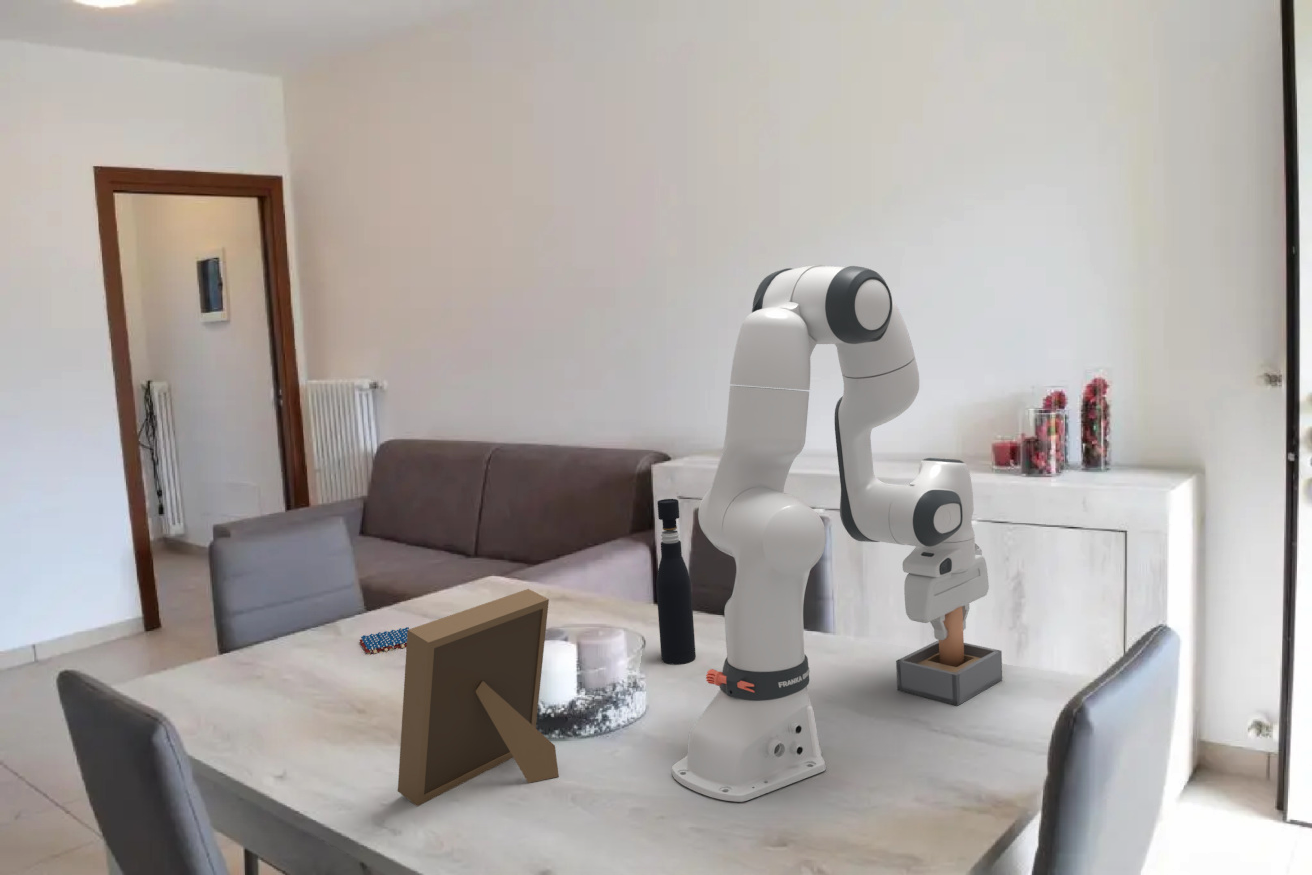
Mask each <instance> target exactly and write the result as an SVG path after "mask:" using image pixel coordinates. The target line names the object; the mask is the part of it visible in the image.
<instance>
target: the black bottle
mask: <svg viewBox="0 0 1312 875" xmlns="http://www.w3.org/2000/svg"><path fill="white" fill-rule="evenodd" d="M656 505H657V514H658V515H657V516H658V520H660V521H661V522H662V530H663V531H661V542H660V554H661V558H660V560H659V565H658V569H657V575H656V582H655V585H656V599H657V600H656V601H657V615H658V629H659V630H658V631H659V643H660V644H659V645H660V656H661V661H662V662H663V663H666V664H667V665H669V664H670V665H685V664H689V663H691V662H693V661H694V660H695V659H696V656H697V654H696V641H695V639H696V638H695V628H694V627H695V625H694V624H695V622H694V611H693V610H694V609H693V599H692V598H693V597H692V595H693V594H692V584H691V583H692V581H691V577H690V573H689V570H688V567H687V565H686V562H685V560H684V558H683V555H682V554H683V552H682V542H681V540H680V533H679V530H677V529H678V527H677V520H678V519H679V518H680V503H679V499H677V498H665V499H660V500H657V504H656Z"/></svg>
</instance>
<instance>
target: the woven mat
mask: <svg viewBox="0 0 1312 875" xmlns="http://www.w3.org/2000/svg"><path fill="white" fill-rule="evenodd" d="M409 629H410V627H409V626H408V627H405V628H404V627H402V628H397V629H396V630H395V629H391V630H388V631H387V630H385V631H384V632H383V631H381V632H380V631H379V632H377V633H375V634H374V633H370V634H366V635H365V634H364V635H362V636H360V638H361V639H359V645H360V646H361V647H362V648H363V651H364V652H365V653H366V654H367V655H368V656H371V655H372V654H374V655H375V654H378V653H380V654H383V651H384V652H388V651H394V649H396V650H399V649H405V648H407V632H408V630H409Z"/></svg>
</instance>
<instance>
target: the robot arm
mask: <svg viewBox="0 0 1312 875" xmlns="http://www.w3.org/2000/svg"><path fill="white" fill-rule="evenodd" d="M907 328H908V327H907V325H906V323H905V321H904V318H903V316H902V313H901V311H900V309H899V307H898V304H897V303H896V301H895V300H894V299H893V297H892V293H891V290H890V288H889V286H888V283H887V282H886V280H885V279H884V278H883V276H882V275H880V273H878V272H877V271H875V270H872V269H871V268H867V267H864V266H863V267H862V266H857V265H850V266H845V267H844V266H836V265H835V266H832V265H831V266H829V265H822V264H817V265H816V264H815V265H808V266H802V267H795V268H790V267H789V268H783V269H780V270H777V271H775V272H772V273H770V274H769V275H767V276H765V277H764V278H763V280H761V282H760V284H759V285H758V286H757V289H756V292H755V293H754V298H753V302H752V309H751V313H749V314H747V316H746V317H745V318H744V319H743V321H742V323H741V326H740V329H739V333H738V336H737V340H736V345H735V350H734V352H733V353H734V355H733V359H732V366H731V372H730V373H731V374H730V382H729V384H730V385H729V392H728V393H729V394H728V406H727V417H726V427H725V430H726V431H725V437H724V442H723V447H722V451H721V455H720V458H719V461H718V465H717V468H716V471H715V474H714V478H713V481H712V484H711V487H709V488H710V489H709V490H708V491H707V492H706V493H705V494H704V495H703V497H702V499H701V501H700V504H699V507H698V510H697V514H698V515H697V517H698V523H699V527H700V529H701V531H702V532H703V535H705V537H706V538H707V539H708V540H709V541H710V543H711V544H712V545H713V546H714V548H716V549H718V550H719V551H721V552H723V553H724V554H726V555H728V556H731V557H733V559H734V561H735V562H734V563H735V566H736V567H735V568H736V571H735V572H736V573H735V579H734V583H733V584H734V585H733V590H732V593H731V594H732V595H731V596H730V598H729V599H728V600H727V601H726V603H725V605H724V609H723V610H724V611H723V612H724V614H723V615H724V629H725V641H726V642H725V643H726V646H725V647H726V658H725V659H724V663H723V667H722V671H717V670H716V669H713V668H710V669H709V670H707V673H706V675H705V676H706V677H705V679H706V682H707V683H708V684H709V685H710V684H711V685H715V686H718V687H719V690H718V692H717V693H716V694H715V696H714V697H713V699H711V702H710V703H709V704H708V705H707V707H706V709H705V710H704V711H703V712H702V714H701V715H700V716H699V717H698V719H697V721H696V722H695V723H694V724H693V725H692V727H691V728H690V731H689V735H688V739H687V754H686V755H685V756H684V757H682V759H680V760H678V761H677V762H675V763H674V764H673V765H672V766H671V775H672V777H673V779H675V780H676V781H677V782H678V783H679V784H681V785H682V786H684V787H686V788H688V789H689V790H691V791H694V792H696V793H698V794H702V795H704V796H707V797H709V798H712V799H717V800H721V801H728V802H739V803H743V802H746V801H750V800H752V799H756V798H758V797H760V796H762V795H765V794H767V793H771V792H774V791H776V790H778V789H781V788H784V787H786V786H789V785H791V784H794V783H796V782H799V781H803V780H804V779H806V778H810V777H813V776H815V775H817V774H820V773H822V772H824V771H825V770H827V769H826V768H827V767H826V761H825V759H824V757H823V756H822V748H821V745H820V743H819V738H818V737H819V736H818V731H817V724H816V718H815V712H814V708H813V705H812V700H811V699H810V695H809V690H808V689H809V688H808V686H809V683H810V667H809V658H808V655H806V654H805V634H804V632H805V631H804V630H805V629H804V601H805V594H806V587H807V583H808V579H809V576H810V571H811V570H812V568H813V567H814V566H815V565H816V564H817V563H818V562H819V561H820V560H821V557H822V556H823V553H824V550H825V548H826V543H827V531H826V527H825V524H824V521H823V520H822V518H821V516H820V515H819V514H818V513H817V512H816V511H815V509H813V508H812V507H811V506H810V505H808V504H807V503H806V502H804V501H803V500H802V499H800V498H799V497H797V496H795V495H794V494H790V493H785V492H784V489H785V485H786V481H787V478H788V475H789V472H790V470H791V467H792V465H793V462H794V461H795V459H796V457H798V455H799V454H801V453H802V451H803V449H804V447H805V444H806V437H807V425H808V414H809V412H808V411H809V400H810V390H811V389H810V388H811V367H812V366H811V356H812V354H813V352H814V349H815V347H816V346H817V345H834V346H835V347H836V352H837V357H838V363H839V367H840V372H841V374H842V375H841V376H842V380H843V394H842V396H841V397H840V398H839V399H838V400H837V402H836V406H835V409H834V433H835V434H834V435H835V445H836V454H837V456H836V457H837V463H838V473H839V481H840V483H839V484H840V501H839V502H840V503H839V517H840V521H841V524H842V525H843V527H844V529H845V530H846V532H847V533H848V535H850V537H851V538H852V539H854V540H855V541H858V542H862V543H863V542H865V543H868V542H870V543H886V544H893V545H900V546H901V545H902V546H912V547H914V549H913V550H912V551H911V552H910V553H909V554H908V555H907V556H906V557H905V558H904V559H903V561H902V571H903V572H904V573H906V574H907V575H906V576H905V580H904V585H903V586H904V588H903V589H904V607H905V608H904V609H905V613H906V614H905V615H906V616H907V618H908V619H909V620H910V621H911V622H917V623H920V624H921V623H923V624H928V623H930V624H931V626H932V628H933V632H934V636H933V637H934V639H935V640H936V641H938V640H944V639H946V638H948V637H949V635H948V628H945V626H944V623H943V621H944V620H945V614H947V613H950V612H952V611H954V610H955V609H957V608H959V607H961V606H962V612H963V631H965V630H966V628H967V622H966V620H967V618H968V614H969V611H970V603H973V602H975V601H977V600H980V599H982V598H984V597H986V596H987V595H988V592H989V589H990V588H989V587H990V585H989V574H988V566H987V562H986V559H985V557H984V556H983V552H982V551H983V550H982V548H981V547H980V546H979V544H977V543H976V542H975V541H976V540H975V538H976V537H975V532H974V529H973V524H972V521H973V519H972V518H973V514H974V492H973V485H972V484H973V482H972V478H971V477H972V476H971V473H970V469H969V467H968V465H967V463H966V462H964V461H962V460H961V459H952V458H936V457H927V458H926V457H925V458H924V459H921V461H920V462H919V468H918V475H917V476H916V477H915V478H914V479H913V481H911V482H909V484H897V483H886V482H883V481H881V480H880V479H879V478H878V477H877V476H876V475H875V473H874V463H873V453H872V444H871V443H872V442H871V441H872V440H871V436H872V435H871V434H872V430H873V429H874V428H877V427H879V426H882V425H884V424H887V423H888V422H890V421H892V420H894V419H896V418H897V417H899V416H900V415H902V414H903V413H905V412H906V411H907V410H908V409H909V408H910V407H911V406H912V405H913V403H914V402H915V400H916V398H917V395H918V393H919V390H920V373H919V369H918V364H917V359H916V356H915V352H914V348H913V343H912V341H911V340H912V339H911V338H910V334H909V332H908V329H907Z"/></svg>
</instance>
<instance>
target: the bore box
mask: <svg viewBox="0 0 1312 875" xmlns="http://www.w3.org/2000/svg"><path fill="white" fill-rule="evenodd" d="M1002 652H1003V651H1002V650H1000V649H995V648H991V647H990V648H989V647H987V646H986V647H985V646H982V645H981V646H980V645H976V644H973V643H967V642H964V664H962V665H960V666H958V667H953V666H949V665H944V664H940V659H939V640H935V641H934V642H931V643H930V644H927V645H925V646H923V647H922V648H919V649H917V650H915V651H914V652H911V653H909V654H907V655H905V656H902V657H901V658H899V659H897V660H896V661H895V664H896V666H895V668H896V669H895V670H896V686H897V687H896V688H897V691H899V692H902V693H907V694H911V695H915V696H918V697H922V698H926V699H930V700H934V701H938V702H941V703H944V704H948V705H952V706H956V707H958V706H960V705H961V704H963V703H965V702H967V701H968V700H970V699H972V698H974V697H975V696H977V695H979V694H980V693H982V692H984V691H986V690H988V689H990V688H991V687H992V686H994V685H996V684H998V683H999V682H1001V681H1002V680H1003V660H1002V659H1003V658H1002V654H1003V653H1002Z"/></svg>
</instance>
